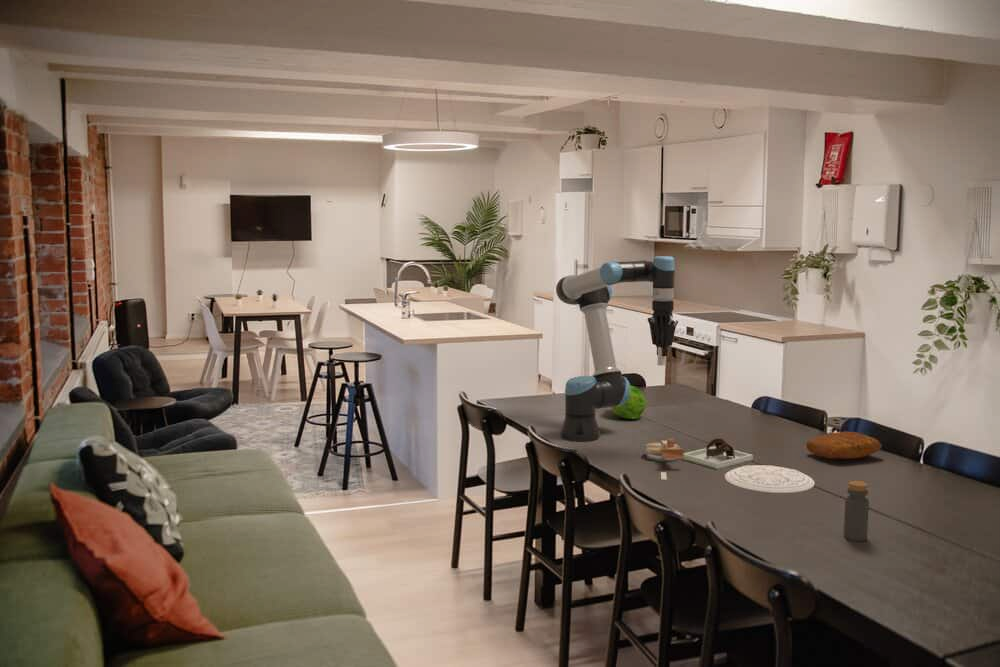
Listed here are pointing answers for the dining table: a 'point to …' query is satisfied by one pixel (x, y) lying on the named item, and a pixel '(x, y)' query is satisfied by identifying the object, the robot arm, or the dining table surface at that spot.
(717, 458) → the tray
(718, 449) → the pottery mug
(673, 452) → the crank
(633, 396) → the lettuce
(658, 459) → the crank housing
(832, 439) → the bread loaf
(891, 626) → the dining table surface
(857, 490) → the bottle
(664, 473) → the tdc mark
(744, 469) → the ceiling medallion
